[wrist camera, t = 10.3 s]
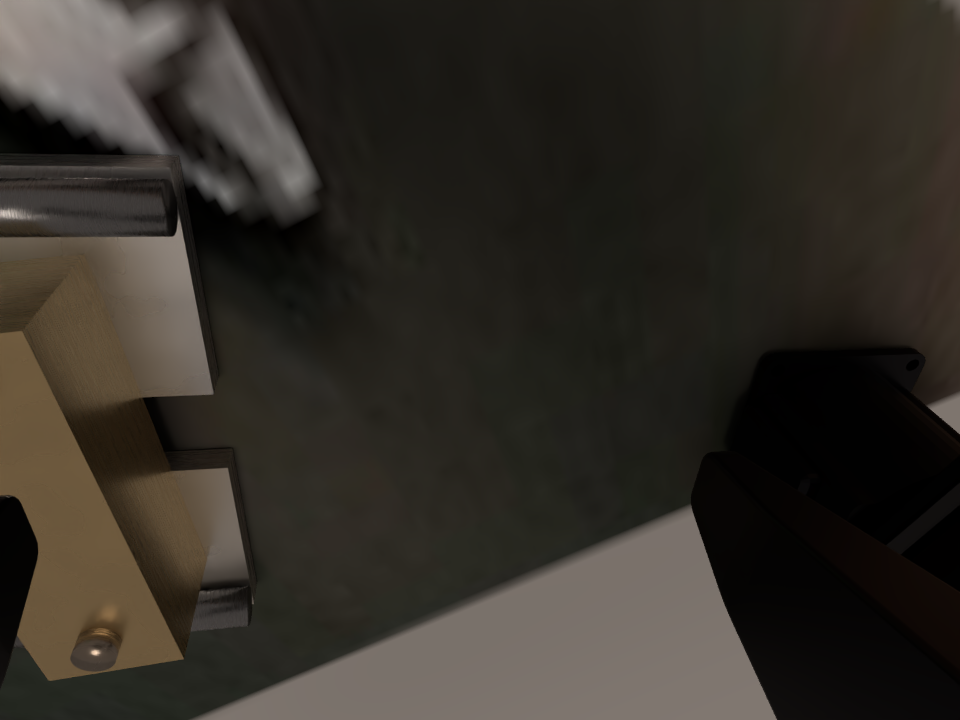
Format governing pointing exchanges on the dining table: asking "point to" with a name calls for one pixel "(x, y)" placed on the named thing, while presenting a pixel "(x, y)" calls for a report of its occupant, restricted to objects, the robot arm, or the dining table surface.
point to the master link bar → (89, 482)
